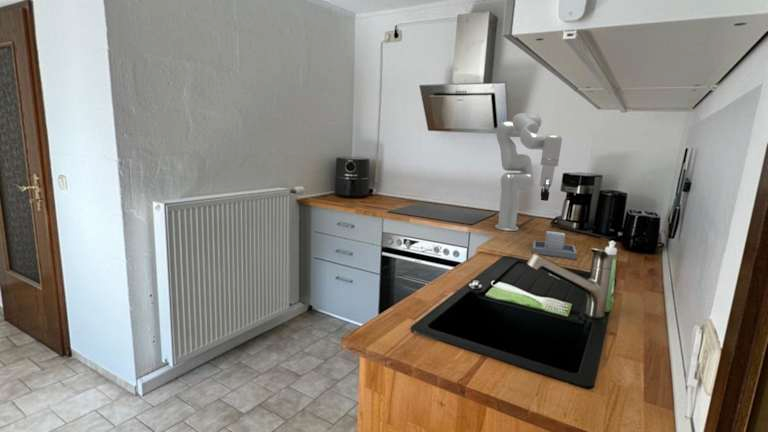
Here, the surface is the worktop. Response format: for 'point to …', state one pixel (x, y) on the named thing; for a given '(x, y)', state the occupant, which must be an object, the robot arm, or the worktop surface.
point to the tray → (555, 251)
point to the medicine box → (554, 241)
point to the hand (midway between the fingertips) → (544, 198)
